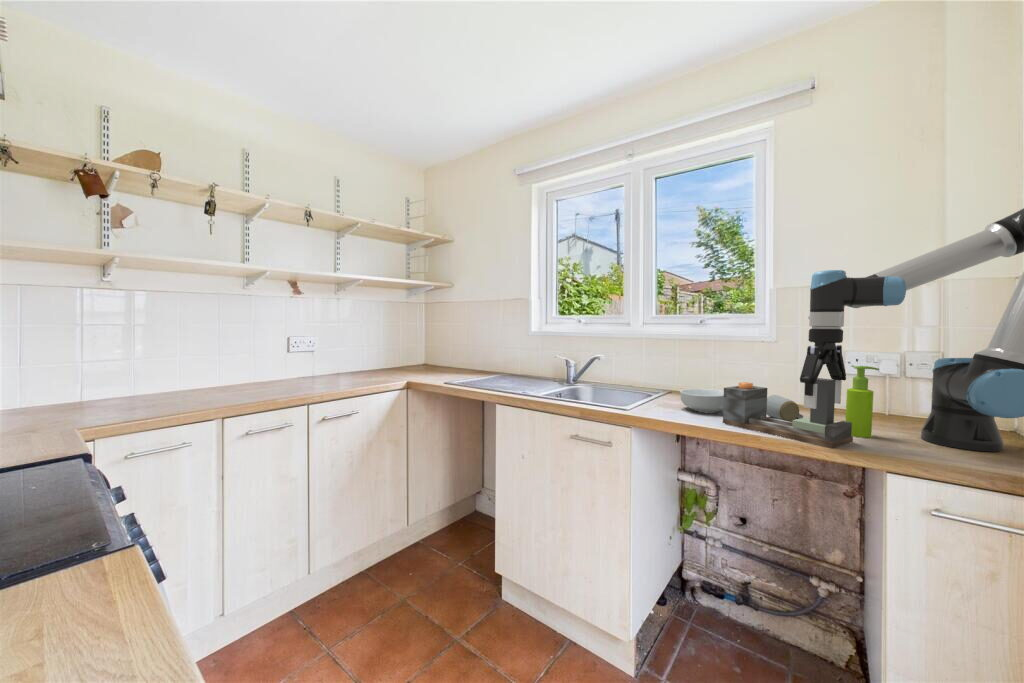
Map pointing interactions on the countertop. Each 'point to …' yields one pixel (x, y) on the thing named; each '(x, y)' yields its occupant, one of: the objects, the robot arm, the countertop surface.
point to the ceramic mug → (782, 408)
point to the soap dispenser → (860, 404)
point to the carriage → (820, 408)
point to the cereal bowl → (703, 399)
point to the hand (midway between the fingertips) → (822, 405)
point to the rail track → (751, 414)
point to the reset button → (745, 385)
